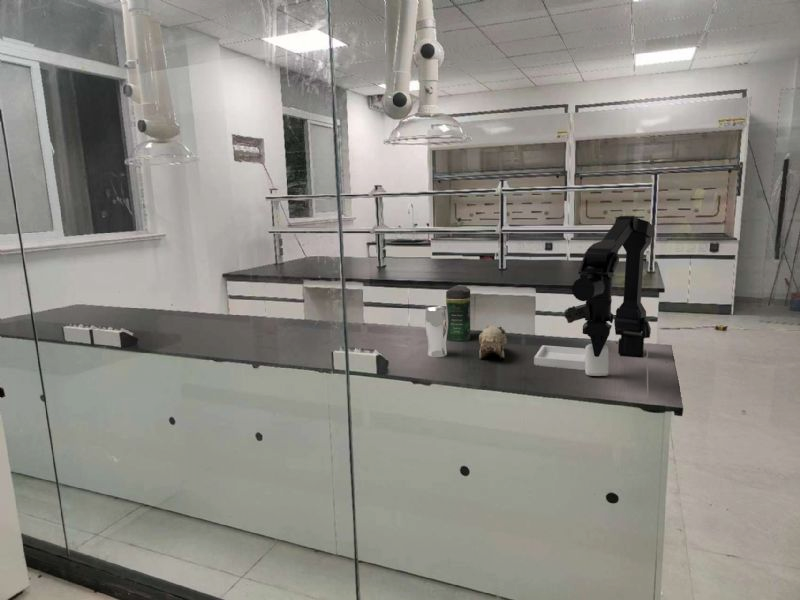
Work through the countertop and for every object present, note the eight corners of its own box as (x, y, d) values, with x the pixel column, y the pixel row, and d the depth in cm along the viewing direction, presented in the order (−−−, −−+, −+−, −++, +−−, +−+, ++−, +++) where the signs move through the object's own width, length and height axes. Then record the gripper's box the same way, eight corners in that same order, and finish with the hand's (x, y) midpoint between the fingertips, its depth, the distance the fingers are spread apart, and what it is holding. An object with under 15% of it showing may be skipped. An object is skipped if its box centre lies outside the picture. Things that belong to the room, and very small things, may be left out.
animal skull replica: (511, 350, 169) (511, 319, 167) (504, 366, 153) (504, 331, 151) (485, 349, 171) (485, 318, 170) (475, 364, 156) (475, 330, 154)
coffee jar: (467, 344, 178) (467, 288, 174) (444, 343, 180) (443, 288, 177) (472, 337, 187) (472, 284, 184) (450, 336, 189) (449, 284, 186)
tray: (590, 356, 160) (590, 348, 159) (586, 370, 147) (586, 361, 147) (542, 352, 165) (542, 345, 165) (533, 365, 153) (534, 357, 152)
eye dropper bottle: (606, 377, 139) (606, 330, 138) (584, 375, 142) (584, 329, 141) (609, 374, 143) (609, 329, 142) (587, 373, 145) (587, 328, 145)
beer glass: (451, 354, 167) (450, 306, 164) (445, 360, 160) (444, 310, 158) (429, 353, 169) (428, 305, 166) (423, 359, 162) (422, 310, 160)
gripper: (571, 289, 151) (569, 343, 154) (562, 300, 134) (560, 361, 137) (614, 291, 147) (611, 346, 149) (610, 302, 130) (607, 365, 132)
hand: (597, 354), depth 142 cm, fingers closed on eye dropper bottle, 4 cm apart
